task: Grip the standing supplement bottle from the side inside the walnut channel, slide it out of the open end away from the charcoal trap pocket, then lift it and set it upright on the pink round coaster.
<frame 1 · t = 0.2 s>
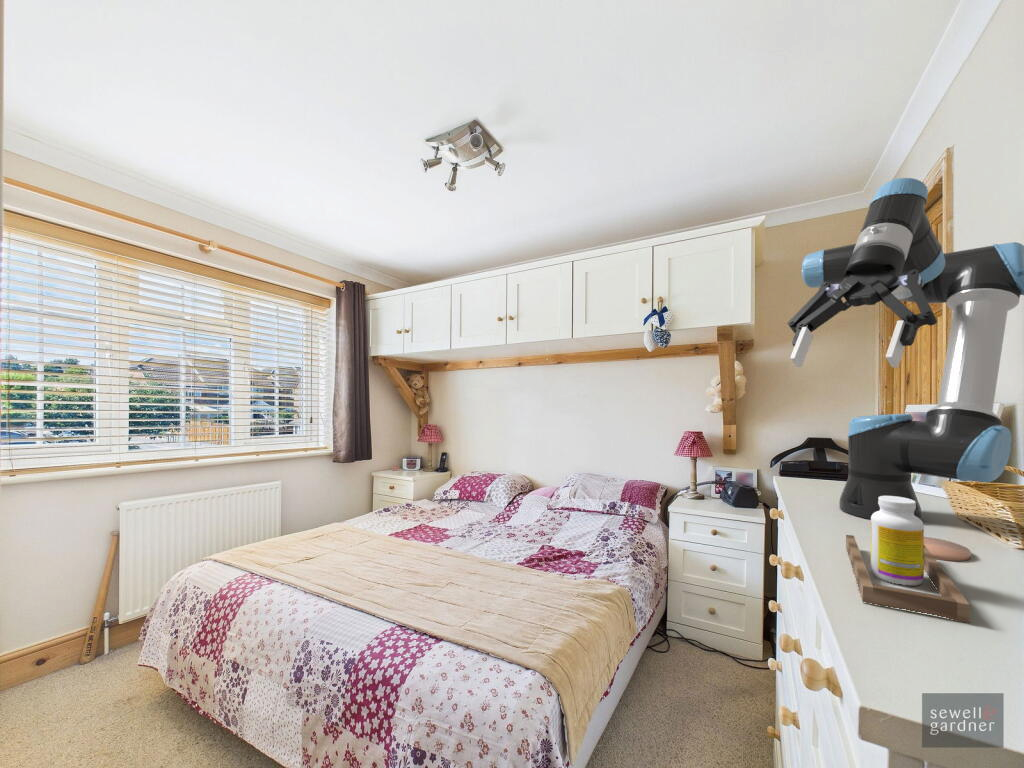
hand: (839, 362, 75), 35 cm above the dresser, tool tilted 35°, fingers open, 13 cm apart
walnut channel: (893, 571, 79), on the dresser
supplement bottle: (896, 579, 76), resting in walnut channel
pink round coaster: (932, 550, 88), on the dresser
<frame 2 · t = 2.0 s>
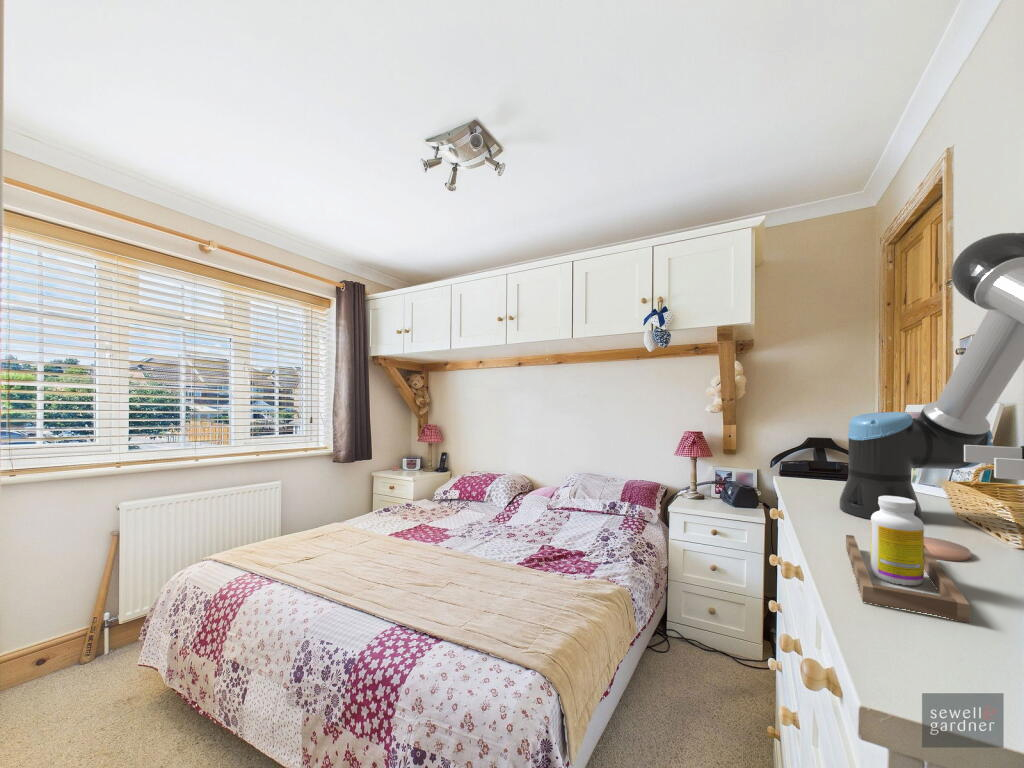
hand: (978, 460, 71), 20 cm above the dresser, tool horizontal, fingers open, 13 cm apart
nothing on the dresser moved.
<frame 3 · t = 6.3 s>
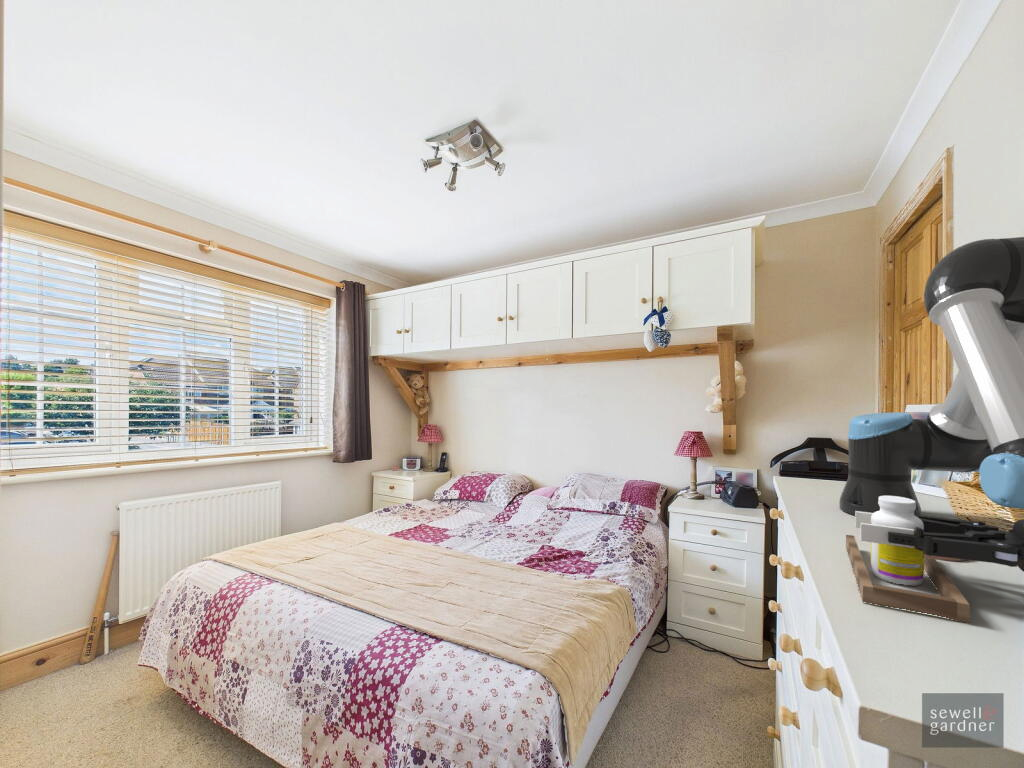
hand: (858, 525, 79), 8 cm above the dresser, tool horizontal, fingers closed on supplement bottle, 7 cm apart
supplement bottle: (896, 579, 76), resting in walnut channel, touching gripper
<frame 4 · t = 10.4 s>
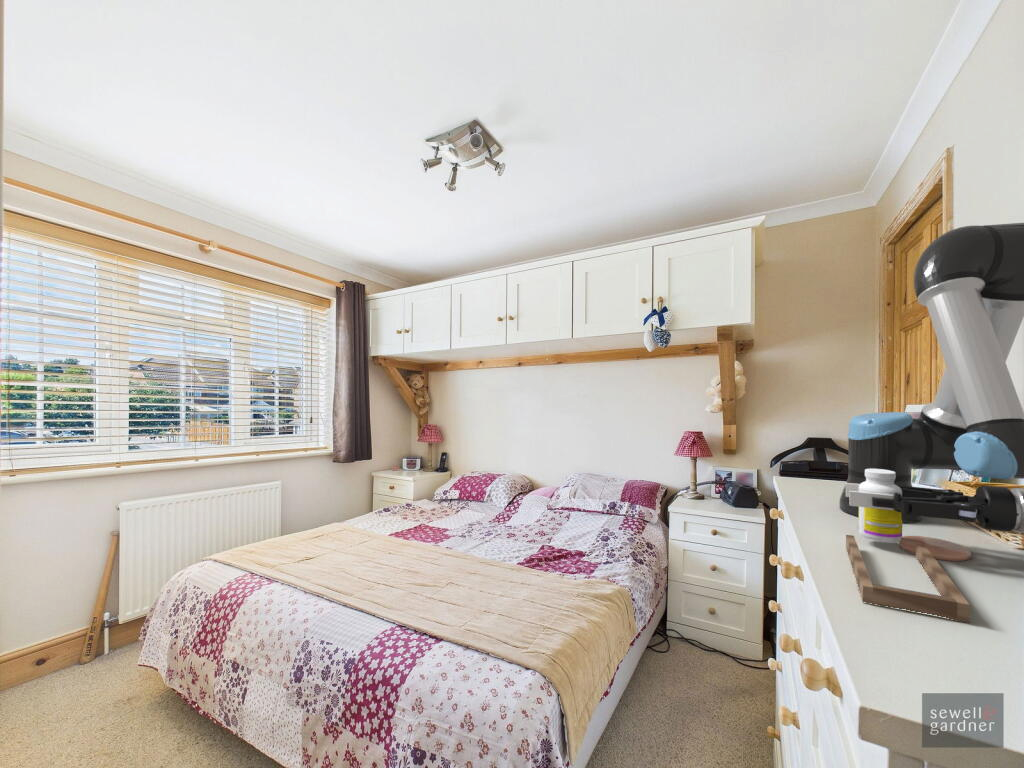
hand: (848, 493, 93), 9 cm above the dresser, tool horizontal, fingers closed on supplement bottle, 7 cm apart
supplement bottle: (879, 538, 91), point 1 cm above the dresser, touching gripper
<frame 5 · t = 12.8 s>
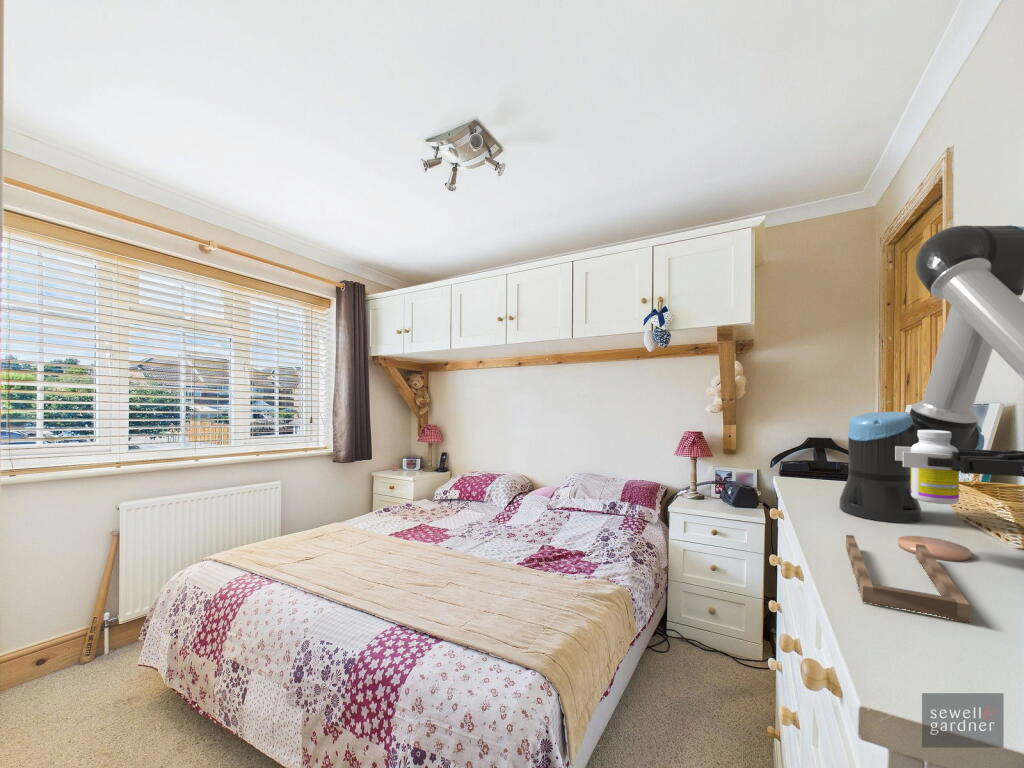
hand: (899, 456, 90), 17 cm above the dresser, tool horizontal, fingers closed on supplement bottle, 7 cm apart
supplement bottle: (934, 501, 87), point 9 cm above the dresser, touching gripper
when the fingers open (10 cm above the dresser, at t = 14.6 s): supplement bottle drops 1 cm, resting on pink round coaster.
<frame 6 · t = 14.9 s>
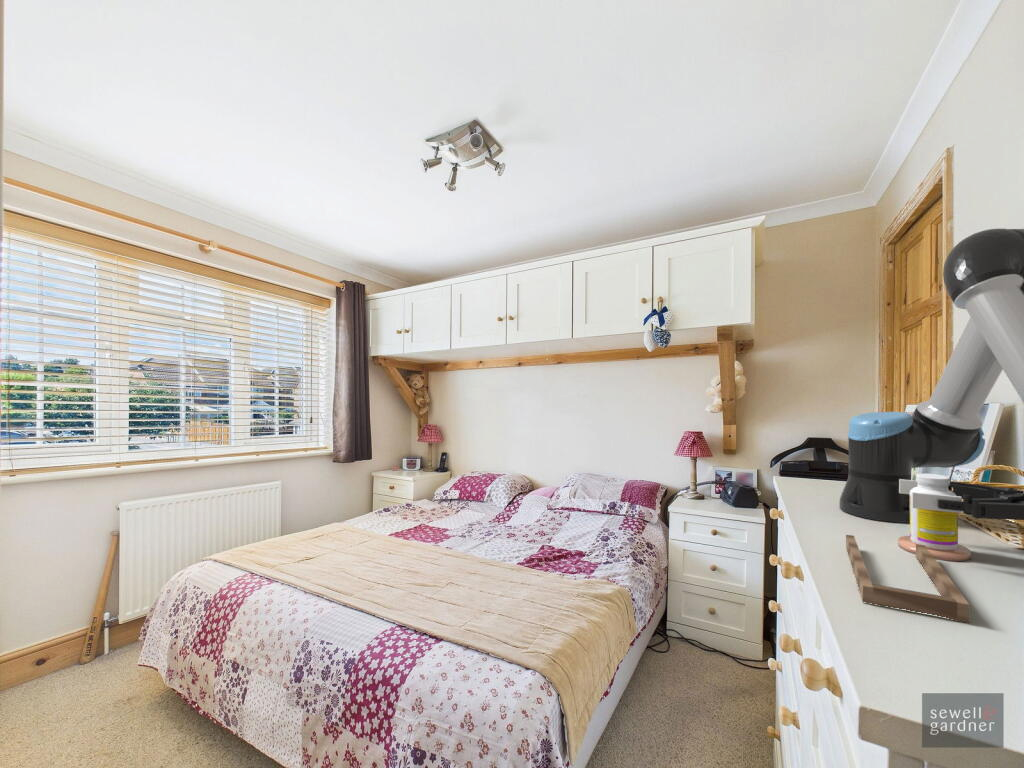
hand: (905, 492, 90), 10 cm above the dresser, tool horizontal, fingers open, 11 cm apart
supplement bottle: (933, 546, 88), point 1 cm above the dresser, touching pink round coaster
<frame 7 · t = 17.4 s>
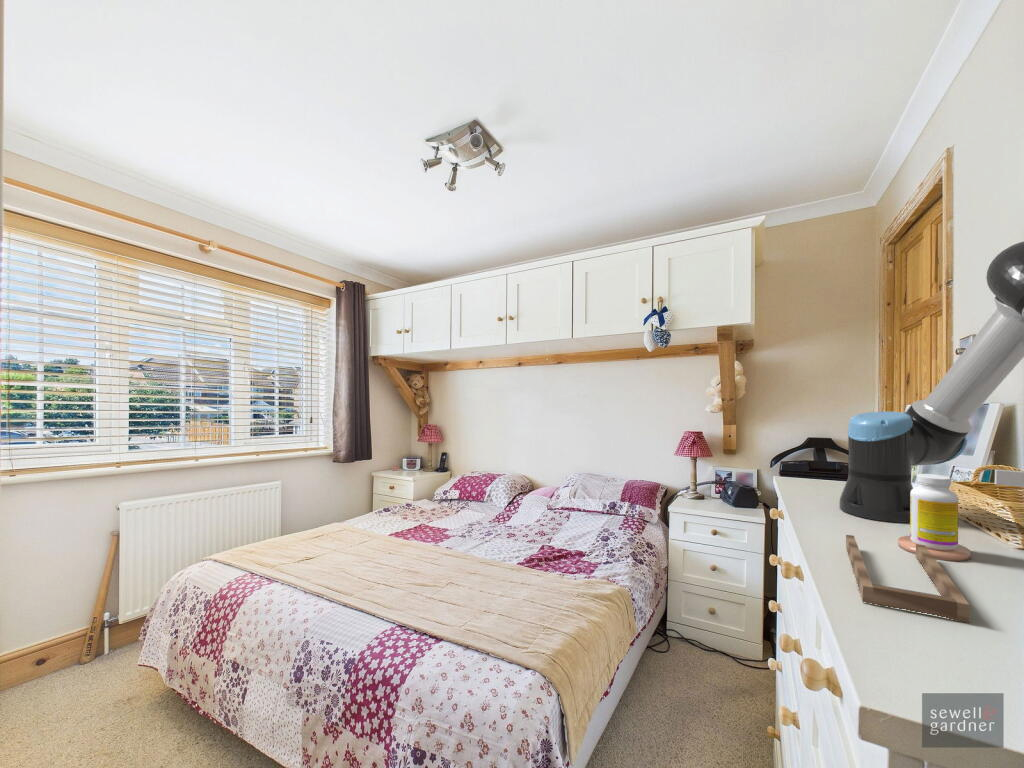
hand: (1009, 485, 82), 13 cm above the dresser, tool horizontal, fingers open, 13 cm apart
nothing on the dresser moved.
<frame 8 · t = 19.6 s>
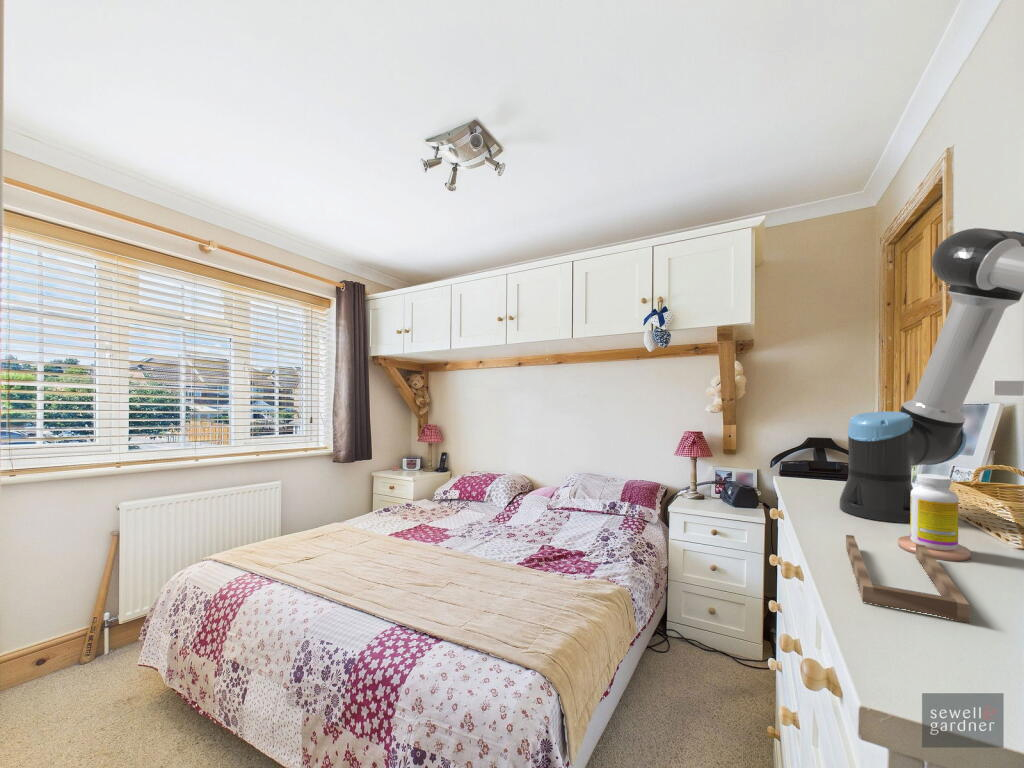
hand: (1007, 389, 82), 30 cm above the dresser, tool horizontal, fingers open, 13 cm apart
nothing on the dresser moved.
at the end: supplement bottle 0.1 cm from the pink round coaster (horizontally); supplement bottle point 0.8 cm above the dresser; supplement bottle tilted 0° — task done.
